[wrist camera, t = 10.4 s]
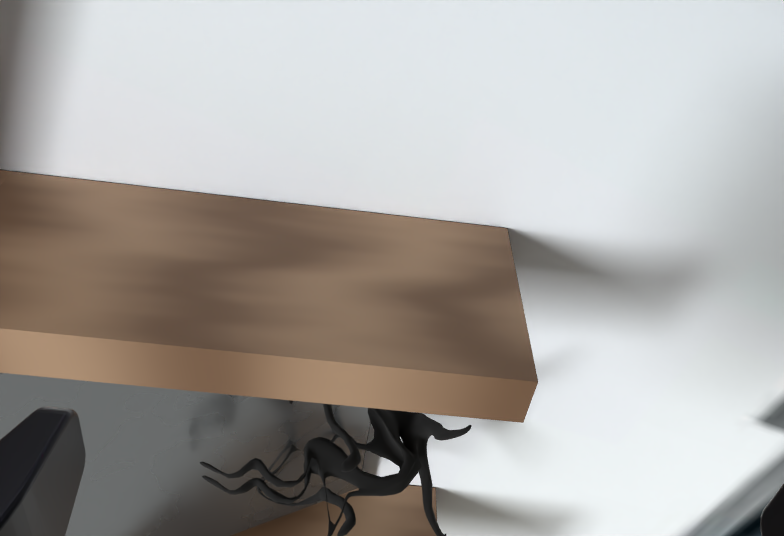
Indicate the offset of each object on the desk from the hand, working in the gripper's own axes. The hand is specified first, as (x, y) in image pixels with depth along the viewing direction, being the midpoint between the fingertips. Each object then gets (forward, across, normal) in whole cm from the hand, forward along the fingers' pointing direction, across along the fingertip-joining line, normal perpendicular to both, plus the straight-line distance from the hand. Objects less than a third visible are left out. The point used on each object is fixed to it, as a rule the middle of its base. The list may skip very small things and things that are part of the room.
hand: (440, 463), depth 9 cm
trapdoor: (+10, +5, +13) cm, 17 cm away
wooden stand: (+13, +4, +12) cm, 19 cm away
